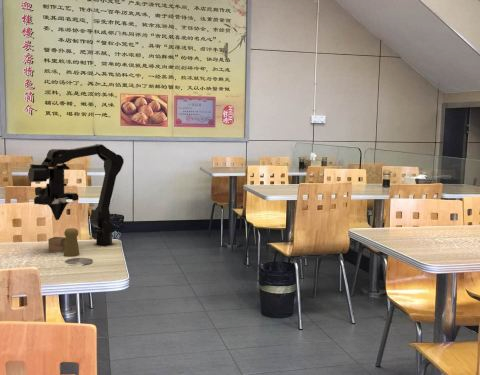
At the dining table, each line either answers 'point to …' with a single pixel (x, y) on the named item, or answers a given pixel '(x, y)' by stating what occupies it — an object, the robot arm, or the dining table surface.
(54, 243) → the walnut cube
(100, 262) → the dining table surface
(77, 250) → the brown rounded piece
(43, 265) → the dining table surface
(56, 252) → the coaster
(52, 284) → the dining table surface
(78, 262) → the coaster empty
